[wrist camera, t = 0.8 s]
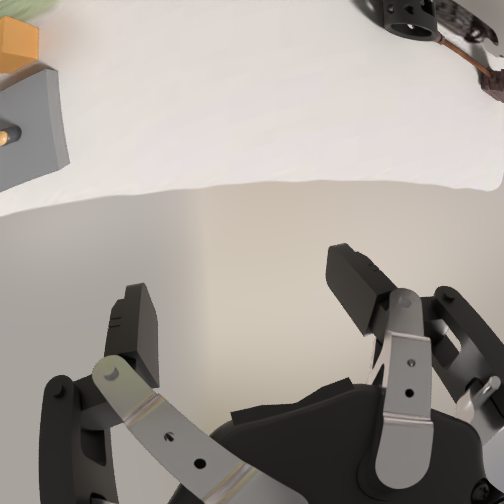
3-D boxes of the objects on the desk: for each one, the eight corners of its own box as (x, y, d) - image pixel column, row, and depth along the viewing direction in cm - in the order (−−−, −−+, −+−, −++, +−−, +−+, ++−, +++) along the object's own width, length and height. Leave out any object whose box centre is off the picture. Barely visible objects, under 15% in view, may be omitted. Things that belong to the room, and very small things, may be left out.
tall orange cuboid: (10, 43, 17) (-26, 36, 9) (38, 28, 18) (5, 15, 10) (10, 73, 20) (-28, 72, 12) (38, 59, 21) (2, 52, 13)
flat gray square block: (-4, 101, 21) (-34, 106, 15) (57, 71, 23) (31, 66, 17) (10, 184, 29) (-17, 203, 22) (70, 163, 31) (47, 178, 24)
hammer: (497, 102, 40) (524, 108, 31) (406, 47, 36) (435, 41, 28) (499, 80, 36) (525, 84, 28) (407, 21, 33) (435, 13, 24)
